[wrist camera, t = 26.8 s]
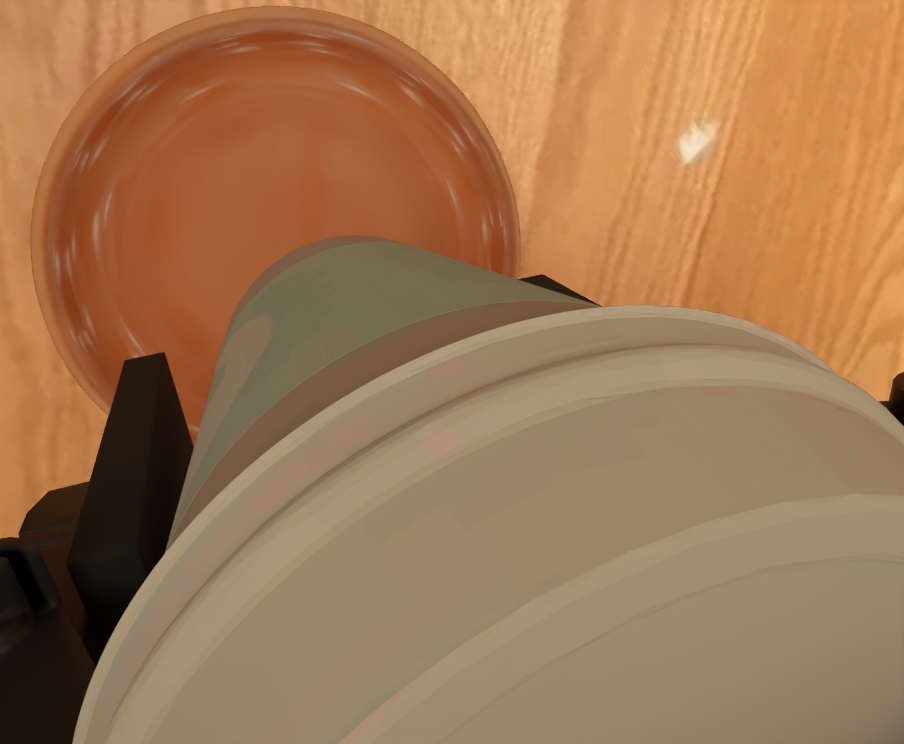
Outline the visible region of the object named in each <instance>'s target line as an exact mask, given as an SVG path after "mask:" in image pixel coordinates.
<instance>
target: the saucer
mask: <svg viewBox="0 0 904 744" xmlns="http://www.w3.org/2000/svg"><path fill="white" fill-rule="evenodd" d="M347 235H367V236H376V237H382V238H386V239H390V240H394V241H397V242H401V243H404V244H407V245H411V246H414V247H417V248H421V249H424V250H427V251H430V252H433V253H436V254H440V255H443V256H446V257H449V258H452V259H455V260H458V261H461V262H464V263H468V264H471V265H474V266H477V267H480V268H483V269H486V270H489V271H492V272H496V273H499V274H502V275H505V276H508V277H511V278H514V279H519V269H520V228H519V217H518V211H517V206H516V200H515V196H514V192H513V188H512V184H511V182H510V179H509V176H508V173H507V170H506V167H505V164H504V162H503V159H502V157H501V154H500V152H499V150H498V148H497V146H496V144H495V142H494V140H493V138H492V136H491V134H490V132H489V131H488V129H487V127H486V125H485V124H484V122H483V121H482V119H481V117H480V116H479V114H478V113H477V111H476V110H475V108H474V107H473V106H472V104H471V103H470V102H469V101H468V99H467V98H466V97H465V95H464V94H463V93H462V92H461V91H460V90H459V88H458V87H457V86H456V85H455V84H454V83H453V82H452V81H451V80H450V79H449V78H448V77H447V76H446V75H445V74H444V73H443V72H442V71H441V70H440V69H438V68H437V67H436V66H435V65H434V64H432V63H431V62H430V61H429V60H428V59H426V58H425V57H424V56H422V55H421V54H420V53H418V52H417V51H415V50H414V49H413V48H411V47H410V46H408V45H407V44H405V43H404V42H402V41H400V40H398V39H397V38H395V37H393V36H391V35H389V34H387V33H385V32H383V31H381V30H379V29H377V28H375V27H373V26H371V25H368V24H366V23H363V22H360V21H358V20H354V19H351V18H348V17H345V16H342V15H338V14H334V13H330V12H325V11H320V10H315V9H309V8H300V7H288V6H262V7H249V8H239V9H234V10H228V11H222V12H218V13H214V14H209V15H205V16H201V17H198V18H195V19H192V20H189V21H186V22H184V23H181V24H179V25H176V26H174V27H172V28H170V29H168V30H165V31H163V32H161V33H159V34H157V35H155V36H153V37H152V38H150V39H148V40H147V41H145V42H143V43H142V44H140V45H138V46H137V47H136V48H134V49H133V50H131V51H130V52H128V53H127V54H126V55H124V56H123V57H122V58H120V59H119V60H118V61H117V62H115V63H114V64H113V65H112V66H111V67H110V68H108V69H107V70H106V71H105V72H104V73H103V74H102V75H101V76H100V77H99V78H98V79H97V80H96V81H95V82H94V83H93V84H92V85H91V87H90V88H89V89H88V90H87V91H86V92H85V93H84V94H83V95H82V96H81V98H80V99H79V101H78V102H77V104H76V105H75V106H74V108H73V109H72V111H71V112H70V114H69V115H68V117H67V118H66V120H65V121H64V122H63V124H62V126H61V128H60V130H59V132H58V134H57V136H56V138H55V140H54V142H53V144H52V146H51V148H50V150H49V153H48V155H47V158H46V160H45V162H44V165H43V168H42V172H41V175H40V178H39V182H38V185H37V189H36V194H35V199H34V204H33V210H32V220H31V261H32V271H33V277H34V283H35V289H36V293H37V297H38V301H39V304H40V308H41V312H42V315H43V317H44V320H45V323H46V325H47V328H48V330H49V333H50V335H51V337H52V340H53V342H54V344H55V346H56V348H57V350H58V352H59V354H60V356H61V358H62V359H63V361H64V363H65V364H66V366H67V368H68V369H69V371H70V372H71V374H72V375H73V377H74V378H75V379H76V381H77V382H78V384H79V385H80V386H81V387H82V389H83V390H84V391H85V392H86V393H87V395H88V396H89V397H90V398H91V399H92V400H93V401H94V402H95V403H96V404H97V405H98V406H99V407H100V408H101V409H102V410H103V411H104V412H105V413H106V414H107V415H108V416H109V413H110V409H111V406H112V402H113V399H114V395H115V392H116V388H117V385H118V381H119V378H120V374H121V371H122V367H123V364H124V360H128V359H133V358H137V357H142V356H147V355H152V354H157V353H162V352H165V355H166V358H167V361H168V364H169V368H170V371H171V374H172V377H173V381H174V384H175V387H176V391H177V394H178V397H179V400H180V404H181V407H182V410H183V413H184V417H185V420H186V423H187V426H188V430H189V433H190V436H191V439H192V443H193V446H195V442H196V438H197V435H198V431H199V427H200V424H201V420H202V417H203V413H204V409H205V406H206V402H207V398H208V395H209V391H210V388H211V384H212V380H213V377H214V373H215V369H216V366H217V362H218V358H219V355H220V353H221V350H222V346H223V343H224V340H225V336H226V333H227V329H228V326H229V323H230V321H231V318H232V316H233V313H234V311H235V309H236V307H237V305H238V304H239V302H240V300H241V298H242V297H243V295H244V294H245V293H246V291H247V290H248V288H249V287H250V286H251V285H252V283H253V282H254V281H255V280H256V279H257V278H258V277H259V276H260V275H261V274H262V273H263V272H264V271H265V270H266V269H267V268H269V267H270V266H271V265H272V264H274V263H275V262H276V261H278V260H279V259H281V258H282V257H284V256H285V255H287V254H289V253H291V252H292V251H294V250H296V249H298V248H300V247H303V246H305V245H308V244H310V243H313V242H316V241H319V240H323V239H327V238H332V237H338V236H347Z"/></svg>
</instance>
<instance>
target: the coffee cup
mask: <svg viewBox="0 0 904 744" xmlns="http://www.w3.org/2000/svg"><path fill="white" fill-rule="evenodd" d="M72 744H904V426H903V425H902V424H901V423H900V422H899V421H898V420H897V419H896V418H895V417H894V416H893V415H892V414H891V413H890V412H889V411H888V409H887V408H886V407H884V406H883V405H882V404H881V403H879V402H878V401H877V400H876V399H874V398H873V397H872V396H871V395H870V394H868V393H867V392H866V391H864V390H863V389H861V388H860V387H858V386H856V385H855V384H853V383H852V382H850V381H848V380H846V379H844V378H843V377H841V376H839V375H837V374H836V373H835V372H834V371H833V370H832V369H831V368H830V367H829V366H828V365H827V364H825V363H824V362H823V361H822V360H821V359H819V358H818V357H817V356H815V355H814V354H813V353H811V352H810V351H808V350H807V349H805V348H804V347H802V346H801V345H799V344H797V343H796V342H794V341H792V340H790V339H788V338H787V337H785V336H783V335H781V334H779V333H777V332H774V331H772V330H770V329H767V328H765V327H763V326H760V325H757V324H754V323H752V322H749V321H746V320H742V319H739V318H736V317H732V316H728V315H724V314H720V313H715V312H710V311H705V310H699V309H692V308H683V307H674V306H657V305H629V306H610V307H601V306H598V305H595V304H592V303H589V302H586V301H583V300H579V299H576V298H573V297H570V296H567V295H564V294H561V293H558V292H555V291H551V290H548V289H545V288H542V287H539V286H536V285H533V284H530V283H527V282H523V281H520V280H517V279H514V278H511V277H508V276H505V275H502V274H499V273H496V272H492V271H489V270H486V269H483V268H480V267H477V266H474V265H471V264H468V263H464V262H461V261H458V260H455V259H452V258H449V257H446V256H443V255H440V254H436V253H433V252H430V251H427V250H424V249H421V248H417V247H414V246H411V245H407V244H404V243H401V242H397V241H394V240H390V239H386V238H382V237H376V236H367V235H347V236H338V237H332V238H327V239H323V240H319V241H316V242H313V243H310V244H308V245H305V246H303V247H300V248H298V249H296V250H294V251H292V252H291V253H289V254H287V255H285V256H284V257H282V258H281V259H279V260H278V261H276V262H275V263H274V264H272V265H271V266H270V267H269V268H267V269H266V270H265V271H264V272H263V273H262V274H261V275H260V276H259V277H258V278H257V279H256V280H255V281H254V282H253V283H252V285H251V286H250V287H249V288H248V290H247V291H246V293H245V294H244V295H243V297H242V298H241V300H240V302H239V304H238V305H237V307H236V309H235V311H234V313H233V316H232V318H231V321H230V323H229V326H228V329H227V333H226V336H225V340H224V343H223V346H222V350H221V353H220V355H219V358H218V362H217V366H216V369H215V373H214V377H213V380H212V384H211V388H210V391H209V395H208V398H207V402H206V406H205V409H204V413H203V417H202V420H201V424H200V427H199V431H198V435H197V438H196V442H195V446H194V449H193V453H192V457H191V460H190V464H189V467H188V471H187V475H186V478H185V482H184V486H183V489H182V493H181V496H180V500H179V504H178V507H177V511H176V515H175V518H174V522H173V526H172V529H171V533H170V536H169V540H168V544H167V547H166V551H165V554H164V556H163V557H162V558H161V559H160V561H159V562H158V563H157V565H156V566H155V567H154V569H153V570H152V571H151V573H150V574H149V576H148V577H147V578H146V580H145V581H144V583H143V584H142V586H141V587H140V588H139V590H138V591H137V593H136V595H135V596H134V598H133V599H132V601H131V602H130V604H129V605H128V607H127V609H126V610H125V612H124V614H123V616H122V617H121V619H120V621H119V622H118V624H117V626H116V628H115V630H114V632H113V633H112V635H111V637H110V639H109V641H108V643H107V645H106V647H105V649H104V651H103V653H102V655H101V657H100V660H99V662H98V664H97V667H96V669H95V671H94V674H93V676H92V679H91V681H90V684H89V687H88V689H87V692H86V695H85V698H84V701H83V704H82V707H81V710H80V714H79V718H78V721H77V725H76V729H75V733H74V738H73V743H72Z"/></svg>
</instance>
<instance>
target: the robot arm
mask: <svg viewBox="0 0 904 744" xmlns="http://www.w3.org/2000/svg"><path fill="white" fill-rule="evenodd" d="M517 280H520V281H523V282H527V283H530V284H533V285H536V286H539V287H542V288H545V289H548V290H551V291H555V292H558V293H561V294H564V295H567V296H570V297H573V298H576V299H579V300H583V301H586V302H589V303H592V304H595V305H598V304H596V303H594V302H593V301H591V300H589V299H587V298H585V297H583V296H581V295H580V294H578V293H576V292H574V291H572V290H570V289H569V288H567V287H565V286H563V285H561V284H559V283H557V282H556V281H554V280H552V279H550V278H548V277H546V276H545V275H543V274H542V275H537V276H532V277H527V278H522V279H517ZM598 306H600V305H598ZM601 307H602V306H601ZM879 403H881V404H882V405H883V406H884V407H886V408H887V409H888V411H889V412H890V413H891V414H892V415H893V416H894V417H895V418H896V419H897V420H898V421H899V422H900V423H901V424H902V425H903V426H904V372H903V373H900V374H898V375H897V376H896V377H895V378H894V379H893V384H892V389H891V394H890V399H889V401H880V402H879ZM193 449H194V446H193V443H192V439H191V436H190V433H189V430H188V426H187V423H186V420H185V417H184V413H183V410H182V407H181V404H180V400H179V397H178V394H177V391H176V387H175V384H174V381H173V377H172V374H171V371H170V368H169V364H168V361H167V358H166V355H165V352H162V353H157V354H152V355H147V356H142V357H137V358H133V359H128V360H124V364H123V367H122V371H121V374H120V378H119V381H118V385H117V388H116V392H115V395H114V399H113V402H112V406H111V409H110V413H109V416H108V420H107V423H106V427H105V430H104V433H103V437H102V440H101V444H100V447H99V451H98V454H97V458H96V461H95V465H94V468H93V472H92V475H91V479H90V481H89V482H84V483H80V484H76V485H72V486H68V487H64V488H60V489H56V490H52V491H49V492H48V493H47V494H46V495H45V496H44V497H43V498H42V499H41V500H40V501H39V502H38V503H37V504H36V505H35V506H34V507H33V508H32V509H31V510H30V511H29V512H28V513H27V514H26V517H25V519H24V522H23V524H22V527H21V529H20V531H19V538H14V537H8V538H2V539H0V744H72V743H73V738H74V733H75V729H76V725H77V721H78V718H79V714H80V710H81V707H82V704H83V701H84V698H85V695H86V692H87V689H88V687H89V684H90V681H91V679H92V676H93V674H94V671H95V669H96V667H97V664H98V662H99V660H100V657H101V655H102V653H103V651H104V649H105V647H106V645H107V643H108V641H109V639H110V637H111V635H112V633H113V632H114V630H115V628H116V626H117V624H118V622H119V621H120V619H121V617H122V616H123V614H124V612H125V610H126V609H127V607H128V605H129V604H130V602H131V601H132V599H133V598H134V596H135V595H136V593H137V591H138V590H139V588H140V587H141V586H142V584H143V583H144V581H145V580H146V578H147V577H148V576H149V574H150V573H151V571H152V570H153V569H154V567H155V566H156V565H157V563H158V562H159V561H160V559H161V558H162V557H163V556H164V554H165V551H166V547H167V544H168V540H169V536H170V533H171V529H172V526H173V522H174V518H175V515H176V511H177V507H178V504H179V500H180V496H181V493H182V489H183V486H184V482H185V478H186V475H187V471H188V467H189V464H190V460H191V457H192V453H193Z"/></svg>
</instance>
